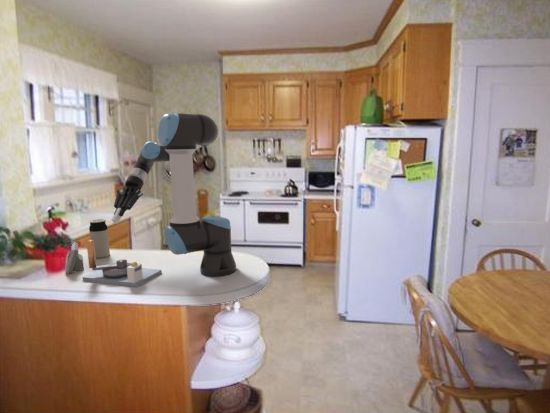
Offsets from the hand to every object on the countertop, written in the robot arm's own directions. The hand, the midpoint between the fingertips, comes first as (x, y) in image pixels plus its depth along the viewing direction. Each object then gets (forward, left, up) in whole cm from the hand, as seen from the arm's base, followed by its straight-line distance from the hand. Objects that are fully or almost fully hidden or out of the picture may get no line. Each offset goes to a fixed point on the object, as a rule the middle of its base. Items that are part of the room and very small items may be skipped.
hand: (114, 221), depth 165 cm
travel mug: (+21, -12, -21) cm, 32 cm away
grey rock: (+19, +7, -21) cm, 29 cm away
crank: (-7, +12, -19) cm, 23 cm away
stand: (-10, +10, -21) cm, 25 cm away
